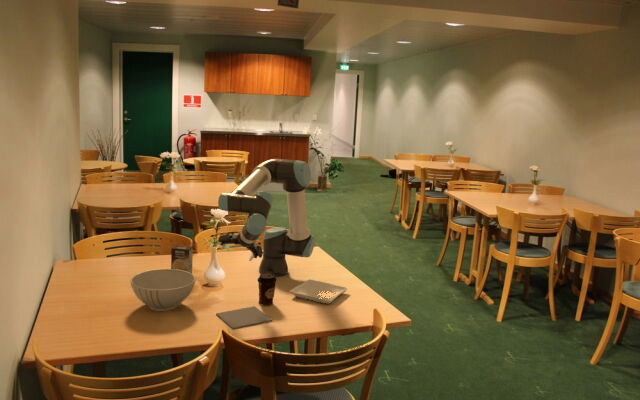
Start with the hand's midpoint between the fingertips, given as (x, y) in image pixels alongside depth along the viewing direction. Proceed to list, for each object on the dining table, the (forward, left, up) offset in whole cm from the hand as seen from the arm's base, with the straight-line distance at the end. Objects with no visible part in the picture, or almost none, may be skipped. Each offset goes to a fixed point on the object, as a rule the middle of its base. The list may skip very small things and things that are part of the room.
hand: (236, 252), depth 250 cm
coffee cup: (-10, +11, -22) cm, 26 cm away
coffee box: (+12, -35, -22) cm, 42 cm away
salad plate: (-37, +13, -22) cm, 45 cm away
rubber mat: (+6, +21, -21) cm, 31 cm away
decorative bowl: (+31, -6, -22) cm, 38 cm away
